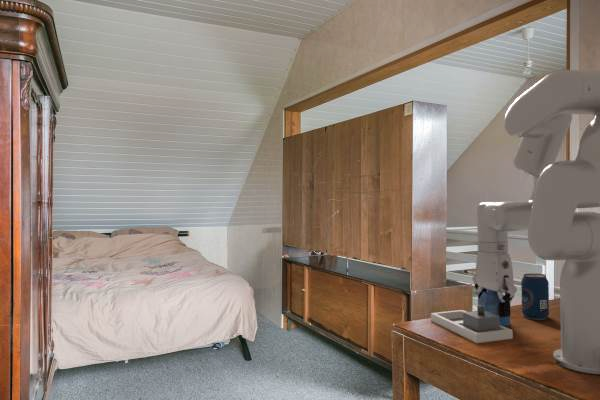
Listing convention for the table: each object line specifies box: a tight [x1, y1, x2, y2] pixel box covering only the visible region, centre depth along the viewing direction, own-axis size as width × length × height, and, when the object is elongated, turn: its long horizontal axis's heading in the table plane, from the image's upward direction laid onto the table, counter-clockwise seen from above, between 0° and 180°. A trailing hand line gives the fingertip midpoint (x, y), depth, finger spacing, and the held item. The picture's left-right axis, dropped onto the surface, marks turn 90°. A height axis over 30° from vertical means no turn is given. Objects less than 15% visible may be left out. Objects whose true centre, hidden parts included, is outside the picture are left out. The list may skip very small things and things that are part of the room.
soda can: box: [520, 273, 550, 321], centre depth 130 cm, size 7×7×12 cm
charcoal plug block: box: [463, 305, 500, 333], centre depth 112 cm, size 6×6×7 cm
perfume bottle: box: [477, 289, 511, 326], centre depth 123 cm, size 6×6×12 cm
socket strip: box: [430, 309, 514, 344], centre depth 117 cm, size 20×10×3 cm, turn 15°
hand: (493, 312), depth 123 cm, fingers closed on perfume bottle, 7 cm apart
